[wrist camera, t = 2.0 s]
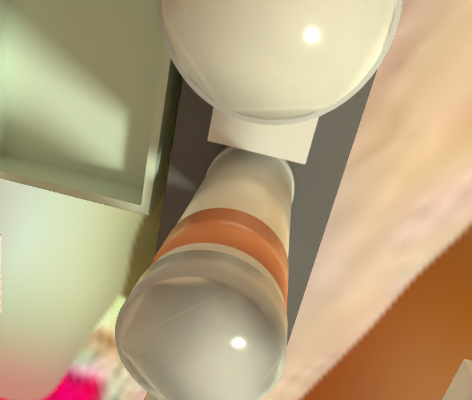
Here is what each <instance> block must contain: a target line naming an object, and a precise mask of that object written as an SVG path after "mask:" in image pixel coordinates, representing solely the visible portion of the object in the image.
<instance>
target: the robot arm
mask: <svg viewBox="0 0 472 400" xmlns="http://www.w3.org/2000/svg"><path fill="white" fill-rule="evenodd" d="M1 291H2V284H1V234H0V313H1V312H2V292H1ZM442 400H472V361H470V360H467V359H464V361H463V362H462V364H461V366H460V368H459V370H458V371H457V373H456V375H455V377H454V379H453V381H452V383H451V384H450V387H449V388H448V390H447V392H446V394H445V396H444V397H443V399H442Z"/></svg>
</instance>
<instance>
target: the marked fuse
mask: <svg viewBox="0 0 472 400" xmlns="http://www.w3.org/2000/svg"><path fill="white" fill-rule="evenodd" d="M294 185H295V179H294V173H293V169H292V166H291V164H290V162H289V161H288V160H284V159H280V158H276V157H272V156H268V155H264V154H260V153H256V152H252V151H247V150H243V149H239V148H235V147H231V146H227V147H225V148H224V149H223V150H221V151H220V152H219V153H218V155H217V156H216V157H215V159H214V160H213V162H212V164H211V165H210V167H209V169H208V171H207V173H206V177H205V179H204V180H203V182H202V184H201V185H200V187H199V189H198V190H197V192H196V194H195V195H194V197H193V199H192V200H191V202H190V203H189V205H188V207H187V208H186V210H185V212H184V213H183V215H182V217H181V218H180V220H179V221H178V223H177V225H176V226H175V227H174V228H173V229H172V230H171V232H170V233H169V235H168V237H167V238H166V240H165V241H164V243H163V245H162V246H161V248H160V250H159V251H158V253H157V254H156V256H155V258H154V259H153V261H152V262H151V264H150V266H149V267H148V269H147V270H146V271H145V272H144V273H143V274H142V276H141V277H140V279H139V280H138V282H137V283H136V285H135V287H134V288H133V290H132V291H131V293H130V294H129V296H128V298H127V299H126V301H125V303H124V304H123V306H122V308H121V309H120V312H119V314H118V317H117V321H116V326H115V339H116V346H117V349H118V353H119V355H120V358H121V360H122V362H123V364H124V366H125V367H126V369H127V371H128V372H129V373H130V375H131V376H132V377H133V378H134V379H135V380H136V381H137V383H138V384H139V385H140V386H142V387H143V388H144V389H145V390H146V391H148V392H149V393H150V394H152V395H153V396H155V397H156V398H158V399H160V400H262V399H263V398H264V397H266V396H267V395H268V394H269V393H270V392H271V391H272V390H273V389H274V388H275V386H276V385H277V383H278V382H279V380H280V378H281V376H282V373H283V371H284V367H285V363H286V348H287V328H288V321H287V313H286V312H287V295H288V276H289V263H288V252H289V235H290V219H291V204H292V201H293V197H294Z"/></svg>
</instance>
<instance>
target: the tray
mask: <svg viewBox="0 0 472 400" xmlns="http://www.w3.org/2000/svg"><path fill="white" fill-rule="evenodd" d="M181 80H182V76H181V74H180V73H179V71H178V70H177V68H176V66H175V64H174V63H173V61H172V59H171V57H170V55H169V52H168V50H167V48H166V45H165V43H164V39H163V36H162V32H161V29H160V24H159V18H158V12H157V0H0V178H2V179H6V180H10V181H14V182H18V183H21V184H25V185H29V186H33V187H37V188H41V189H46V190H49V191H53V192H57V193H61V194H65V195H69V196H73V197H77V198H81V199H85V200H89V201H93V202H97V203H100V204H104V205H108V206H113V207H116V208H121V209H124V210H128V211H132V212H136V213H140V214H144V215H148V216H149V214H150V213H151V212H152V210H153V209H154V208H155V207H156V205H157V204H158V203H159V201H160V200H161V199H162V198H163V196H164V190H165V184H166V177H167V171H168V164H169V158H170V151H171V145H172V138H173V132H174V125H175V119H176V112H177V106H178V99H179V93H180V86H181Z"/></svg>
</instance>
